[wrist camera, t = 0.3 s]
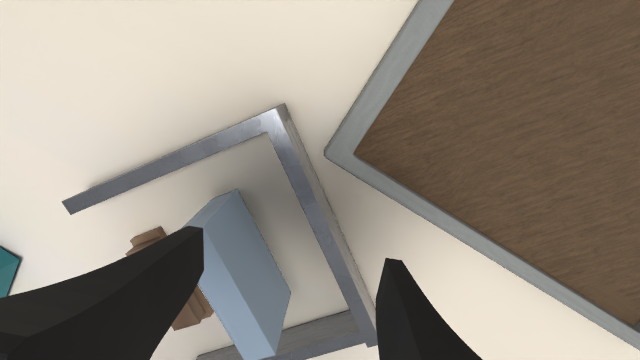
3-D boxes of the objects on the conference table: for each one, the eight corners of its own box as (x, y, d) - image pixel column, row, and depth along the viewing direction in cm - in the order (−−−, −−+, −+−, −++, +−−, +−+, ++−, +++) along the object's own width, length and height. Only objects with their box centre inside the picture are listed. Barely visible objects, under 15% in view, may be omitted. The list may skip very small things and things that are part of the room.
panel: (267, 299, 26) (245, 363, 20) (212, 198, 24) (170, 238, 18) (291, 291, 25) (275, 354, 20) (237, 188, 23) (202, 226, 17)
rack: (203, 364, 28) (187, 397, 25) (89, 188, 24) (55, 204, 21) (377, 313, 25) (381, 343, 23) (284, 103, 21) (275, 108, 18)
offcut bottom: (191, 314, 27) (184, 324, 26) (139, 233, 25) (129, 240, 24) (216, 305, 27) (210, 316, 26) (165, 222, 25) (156, 229, 24)
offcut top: (181, 319, 26) (174, 330, 25) (135, 245, 24) (125, 253, 23) (205, 312, 26) (199, 323, 25) (160, 236, 24) (151, 244, 23)
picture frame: (539, -188, 15) (962, 154, 18) (521, -164, 17) (915, 148, 20) (321, 156, 21) (674, 372, 24) (323, 151, 22) (654, 354, 26)
